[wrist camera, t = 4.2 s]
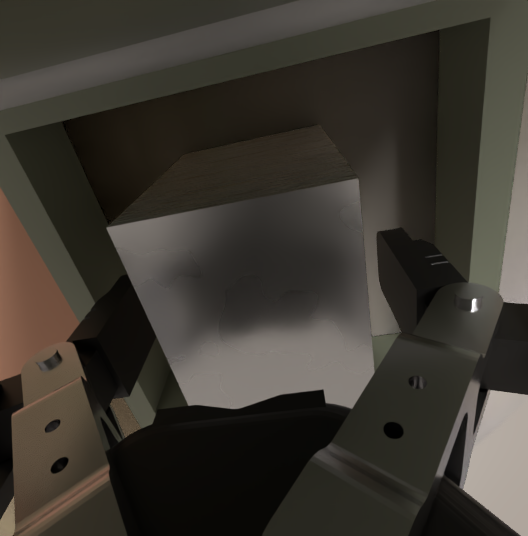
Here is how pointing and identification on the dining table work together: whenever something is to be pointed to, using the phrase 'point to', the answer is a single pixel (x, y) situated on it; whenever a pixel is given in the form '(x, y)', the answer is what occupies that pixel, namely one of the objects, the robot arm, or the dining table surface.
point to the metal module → (255, 270)
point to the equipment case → (233, 67)
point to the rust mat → (27, 298)
